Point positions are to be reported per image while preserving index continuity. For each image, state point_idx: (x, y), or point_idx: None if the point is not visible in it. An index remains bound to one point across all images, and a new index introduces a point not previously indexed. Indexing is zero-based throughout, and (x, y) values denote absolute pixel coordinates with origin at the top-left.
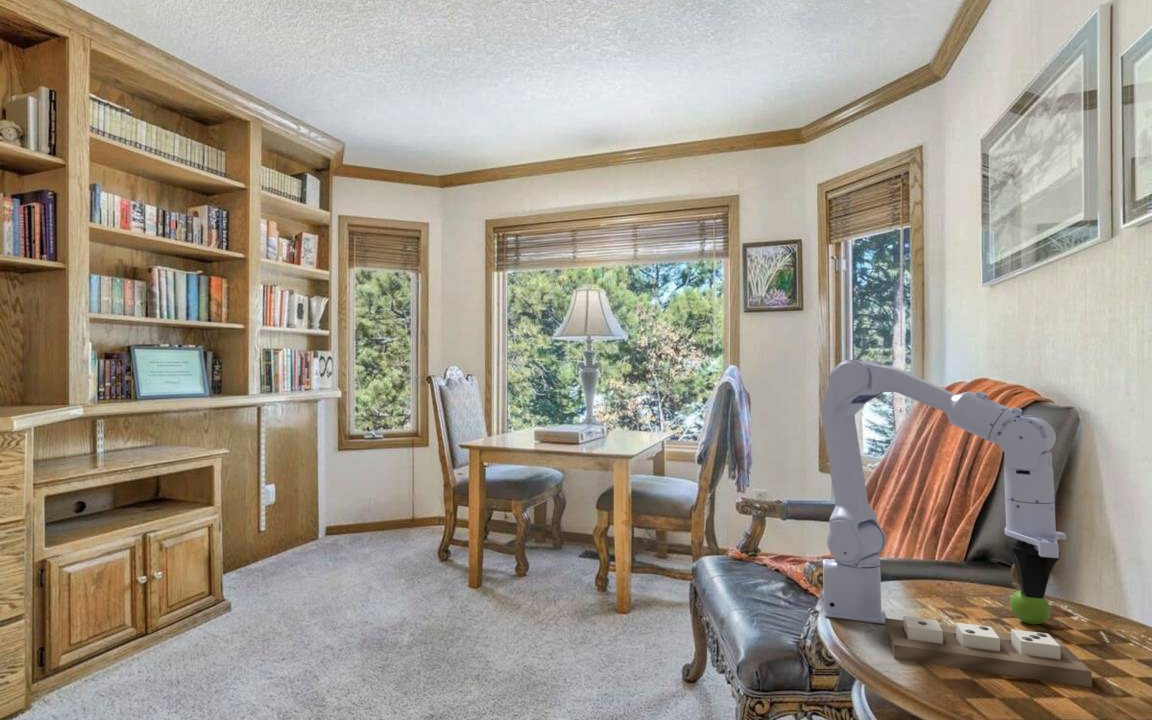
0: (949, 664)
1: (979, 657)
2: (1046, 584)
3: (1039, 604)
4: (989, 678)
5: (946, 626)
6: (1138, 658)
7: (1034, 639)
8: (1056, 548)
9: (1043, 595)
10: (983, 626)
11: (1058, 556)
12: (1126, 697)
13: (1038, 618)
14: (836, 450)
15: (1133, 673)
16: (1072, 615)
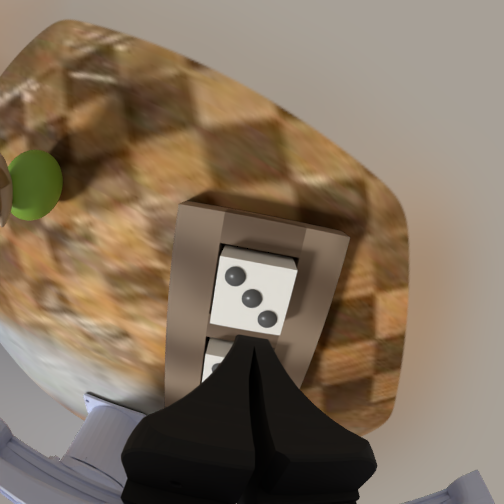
0: None
1: (300, 385)
2: (282, 365)
3: (42, 178)
4: (320, 367)
5: (169, 381)
6: (185, 62)
7: (266, 305)
8: (486, 497)
9: (270, 344)
10: (207, 364)
11: (479, 474)
12: (370, 195)
13: (61, 180)
14: None
15: (263, 110)
16: (20, 97)
